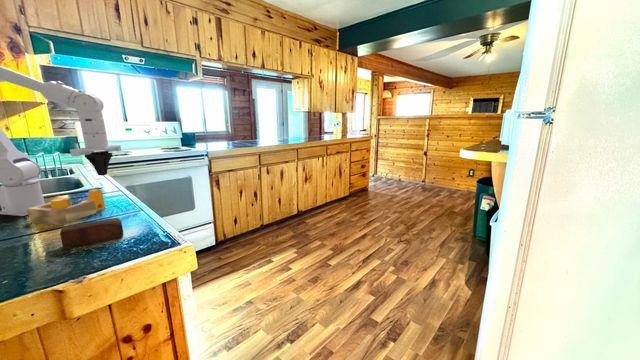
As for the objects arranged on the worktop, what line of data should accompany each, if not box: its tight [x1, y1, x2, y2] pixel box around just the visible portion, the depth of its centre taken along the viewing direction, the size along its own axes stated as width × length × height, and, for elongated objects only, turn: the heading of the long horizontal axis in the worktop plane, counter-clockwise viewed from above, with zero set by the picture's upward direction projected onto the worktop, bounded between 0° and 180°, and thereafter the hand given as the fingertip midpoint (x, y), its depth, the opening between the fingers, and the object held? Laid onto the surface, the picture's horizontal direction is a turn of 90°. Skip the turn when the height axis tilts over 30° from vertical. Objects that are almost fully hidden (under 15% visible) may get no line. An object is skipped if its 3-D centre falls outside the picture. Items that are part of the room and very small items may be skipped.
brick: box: [59, 217, 124, 251], centre depth 59 cm, size 11×4×5 cm, turn 128°
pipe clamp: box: [49, 188, 106, 212], centre depth 76 cm, size 12×4×6 cm, turn 170°
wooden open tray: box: [27, 197, 98, 226], centre depth 74 cm, size 10×10×4 cm
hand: (102, 174), depth 84 cm, fingers closed
